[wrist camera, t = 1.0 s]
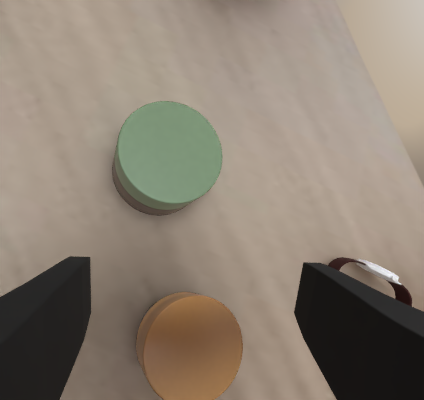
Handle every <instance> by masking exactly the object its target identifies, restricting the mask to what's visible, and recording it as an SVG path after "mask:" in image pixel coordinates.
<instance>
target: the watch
mask: <svg viewBox="0 0 424 400" xmlns="http://www.w3.org/2000/svg"><path fill="white" fill-rule="evenodd" d="M348 262H356V264H357V265H358V266H360V267H361V268H363V269H364V270H366V271H368V272H370V273H372V274H374V275H376V276H378V277H380V278H383V279H385V280H386V281H388V282H389V283H390V284H391V285H392V287H393V288H394V291H395V296H396V298H395V299H396V300H398V301H400V302H402V303H404V304H407V305H409V306H411V307H412V298H411V295H410V293H409V291H408V290H407V289H406V288H405V287H404V286H403V285H401V284H400V283H399V282H398V279H399V277H398V276H397V275H395V274H394V273H392V272H390V271H388V270H386V269H384V268H382V267H380V266H378V265H376V264H374V263H371V262H369V261H366V260H363V259H358V260H354V259H349V258H343V257H342V258H337V259H334V260H333V261H332V262H330V263H329V265H328V266H329V267H332V268H334V269H336V270H338V271H339V270H340V268H341V267H342V266H343V265H344V264H346V263H348Z"/></svg>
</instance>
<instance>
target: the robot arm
mask: <svg viewBox="0 0 424 400" xmlns="http://www.w3.org/2000/svg"><path fill="white" fill-rule="evenodd" d="M90 314H91V282H90V257H68V258H66V259H64V260H63V261H61V262H59V263H58V264H56V265H54V266H53V267H51V268H50V269H48V270H46V271H45V272H43V273H42V274H40V275H38V276H37V277H35V278H33V279H32V280H30V281H28V282H27V283H25V284H23V285H21V286H20V287H18V288H16V289H14V290H12V291H11V292H9V293H7V294H5V295H3V296H1V297H0V400H60V397H61V395H62V392H63V390H64V387H65V385H66V383H67V380H68V378H69V375H70V373H71V370H72V368H73V366H74V363H75V361H76V358H77V356H78V353H79V351H80V348H81V346H82V343H83V341H84V337H85V333H86V330H87V326H88V322H89V318H90ZM294 314H295V317H296V320H297V322H298V325H299V328H300V330H301V333H302V336H303V338H304V340H305V342H306V344H307V346H308V348H309V350H310V352H311V353H312V355H313V357H314V359H315V361H316V363H317V364H318V366H319V368H320V370H321V372H322V374H323V375H324V377H325V379H326V381H327V383H328V384H329V386H330V388H331V390H332V392H333V394H334V395H335V397H336V399H337V400H424V312H423V311H421V310H418V309H416V308H414V307H411V306H409V305H407V304H404V303H402V302H400V301H398V300H396V299H394V298H392V297H389V296H387V295H385V294H383V293H381V292H379V291H377V290H375V289H373V288H371V287H369V286H367V285H365V284H363V283H361V282H359V281H358V280H356V279H354V278H352V277H350V276H348V275H346V274H344V273H342V272H340V271H338V270H336V269H334V268H332V267H329V266H327V265H324V264H322V263H303V268H302V274H301V279H300V284H299V290H298V295H297V300H296V306H295V311H294Z"/></svg>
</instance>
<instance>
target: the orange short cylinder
mask: <svg viewBox="0 0 424 400" xmlns="http://www.w3.org/2000/svg"><path fill="white" fill-rule="evenodd" d="M136 351H137V357H138V360H139V364H140V366H141V368H142V370H143V372H144V374H145V376H146V378H147V380H148V382H149V384H150V386H151V387H152V389H153V390H154V391H155V392H156V393H157V395H158V396H160V397H161V398H162V399H163V400H214V399H216V398H217V397H218V396H220V395H221V394H222V393H223V392H224V391H225V390H226V389H227V388H228V387H229V385H230V384H231V383H232V381H233V379H234V378H235V376H236V374H237V372H238V369H239V366H240V363H241V359H242V351H243V343H242V335H241V331H240V328H239V325H238V322H237V320H236V318H235V317H234V315H233V314H232V312H231V311H230V310H229V309H228V308H227V307H226V306H225V305H224V304H222V303H221V302H219V301H217V300H215V299H213V298H210V297H207V296H203V295H199V294H196V293H190V292H179V293H174V294H171V295H168V296H166V297H164V298H162V299H161V300H159V301H158V302H157V303H155V304H154V305H153V306H152V307H151V308H150V310H149V311H148V312H147V313H146V315H145V316H144V318H143V320H142V322H141V324H140V327H139V330H138V334H137V341H136Z"/></svg>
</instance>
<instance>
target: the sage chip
mask: <svg viewBox="0 0 424 400" xmlns="http://www.w3.org/2000/svg"><path fill="white" fill-rule="evenodd" d="M221 166H222V149H221V144H220V141H219V138H218V136H217V134H216V132H215V130H214V128H213V127H212V125H211V124H210V123H209V122H208V120H207V119H206V118H205V117H204V116H202V115H201V114H200V113H199V112H197V111H196V110H194V109H192V108H190V107H188V106H186V105H183V104H180V103H176V102H169V101H161V102H154V103H150V104H147V105H145V106H143V107H141V108H139V109H137V110H136V111H135V112H133V113H132V114H131V115H130V116H129V117H128V119H127V120H126V121H125V123H124V124H123V126H122V128H121V131H120V133H119V137H118V141H117V146H116V151H115V168H116V172H117V175H118V178H119V180H120V182H121V184H122V186H123V187H124V189H125V190H126V191H127V192H128V193H129V194H130V195H131V196H132V197H133V198H134V199H136V200H137V201H138V202H140V203H142V204H144V205H146V206H148V207H151V208H155V209H161V210H172V209H178V208H181V207H184V206H186V205H188V204H190V203H191V202H193V201H195V200H196V199H198V198H199V197H201V196H203V195H204V194H205V193H206V192H208V191H209V190H210V189H211V187H212V186H213V185H214V183H215V182H216V180H217V178H218V176H219V174H220V170H221Z"/></svg>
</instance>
